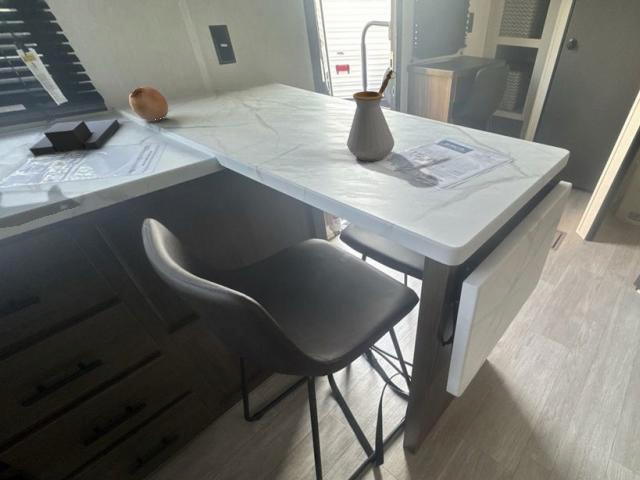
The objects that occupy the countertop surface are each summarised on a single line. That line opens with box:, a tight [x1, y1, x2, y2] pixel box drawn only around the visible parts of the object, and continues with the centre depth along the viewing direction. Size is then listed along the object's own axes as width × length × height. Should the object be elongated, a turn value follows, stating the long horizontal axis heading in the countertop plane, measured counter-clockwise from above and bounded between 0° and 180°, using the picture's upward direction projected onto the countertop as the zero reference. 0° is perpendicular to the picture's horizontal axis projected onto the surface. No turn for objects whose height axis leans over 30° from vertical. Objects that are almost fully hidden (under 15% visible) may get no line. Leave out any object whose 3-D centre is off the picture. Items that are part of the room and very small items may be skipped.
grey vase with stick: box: [346, 69, 398, 162], centre depth 75 cm, size 21×12×15 cm, turn 160°
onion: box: [128, 85, 169, 123], centre depth 94 cm, size 10×9×10 cm
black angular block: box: [43, 120, 92, 153], centre depth 81 cm, size 6×8×4 cm
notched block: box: [28, 118, 120, 156], centre depth 86 cm, size 14×20×2 cm
